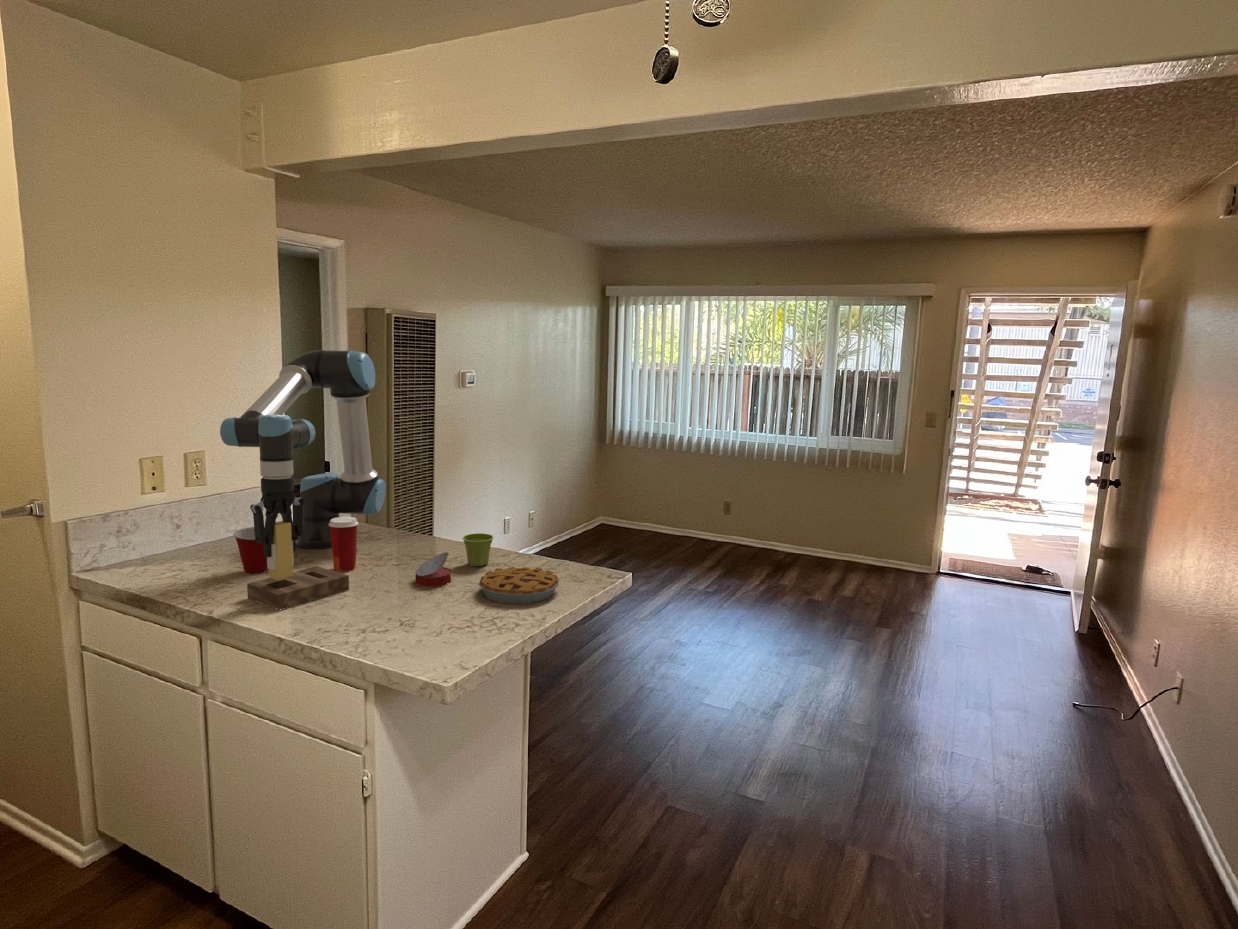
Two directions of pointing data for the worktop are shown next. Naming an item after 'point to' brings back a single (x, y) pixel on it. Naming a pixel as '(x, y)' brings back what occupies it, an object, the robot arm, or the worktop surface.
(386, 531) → the worktop surface
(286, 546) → the square peg
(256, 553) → the plastic cup
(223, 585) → the worktop surface
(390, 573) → the worktop surface
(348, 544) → the coffee cup
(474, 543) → the plant pot
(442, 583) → the canned food
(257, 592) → the socket block
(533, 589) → the pie
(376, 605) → the worktop surface
